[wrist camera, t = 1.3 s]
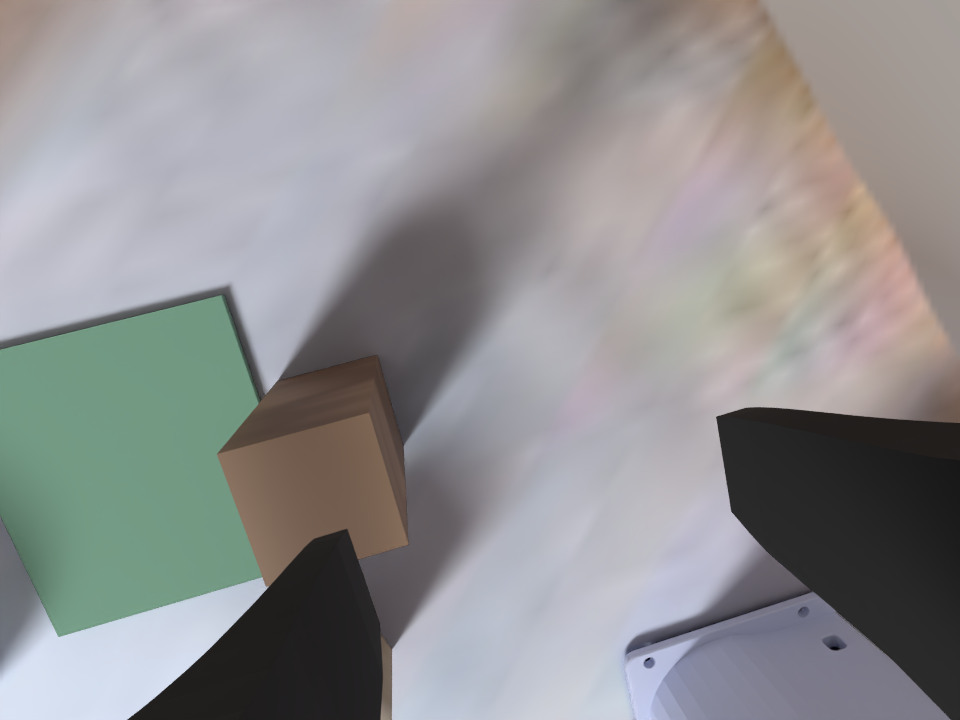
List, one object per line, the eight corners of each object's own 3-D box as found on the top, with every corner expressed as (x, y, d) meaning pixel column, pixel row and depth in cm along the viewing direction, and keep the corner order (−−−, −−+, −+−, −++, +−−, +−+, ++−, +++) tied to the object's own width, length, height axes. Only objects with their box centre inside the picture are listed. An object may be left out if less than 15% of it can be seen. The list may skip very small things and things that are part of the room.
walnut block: (377, 354, 20) (369, 412, 13) (403, 445, 21) (408, 544, 14) (277, 380, 20) (217, 454, 13) (308, 472, 20) (266, 586, 14)
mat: (223, 294, 19) (221, 295, 18) (314, 557, 21) (313, 562, 21) (-64, 365, 18) (-72, 367, 18) (63, 631, 20) (58, 637, 20)
